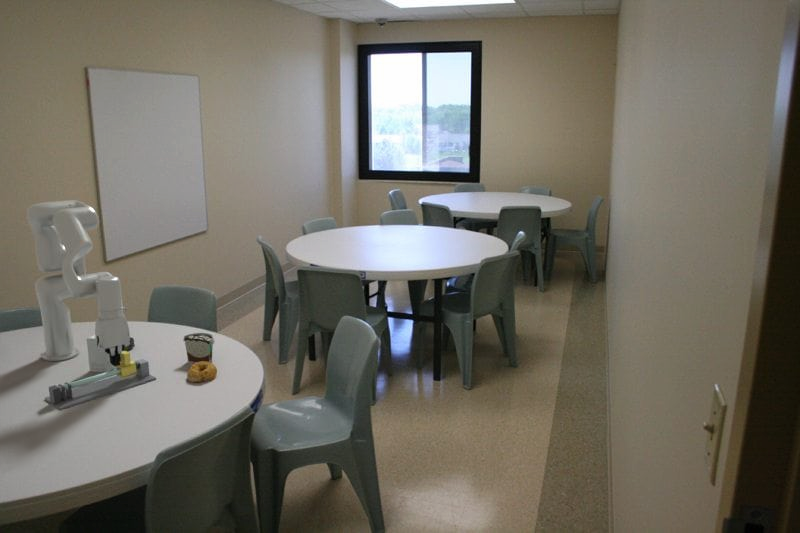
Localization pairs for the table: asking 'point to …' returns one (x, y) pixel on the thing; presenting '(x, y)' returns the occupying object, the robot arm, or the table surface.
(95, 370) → the supplement box
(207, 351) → the food container
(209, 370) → the bagel
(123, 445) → the table surface
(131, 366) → the sleeve
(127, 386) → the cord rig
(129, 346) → the mobile phone
